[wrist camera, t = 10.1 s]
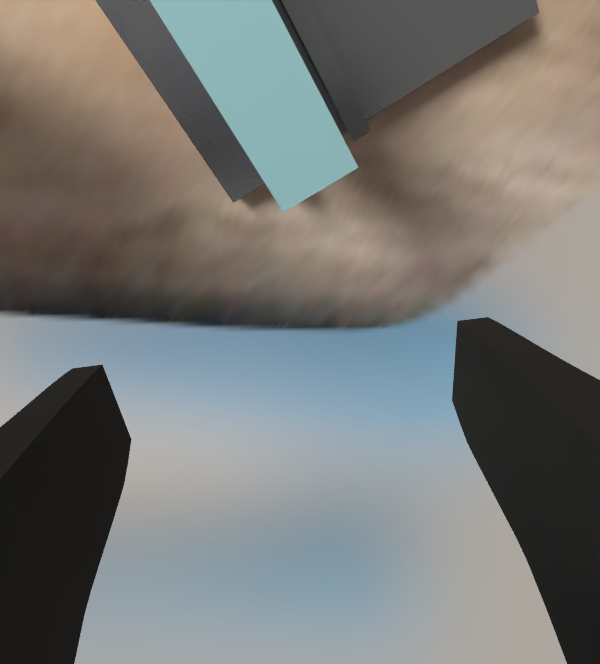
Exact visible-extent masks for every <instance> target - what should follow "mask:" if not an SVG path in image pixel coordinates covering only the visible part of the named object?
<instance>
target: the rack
mask: <svg viewBox="0 0 600 664" xmlns="http://www.w3.org/2000/svg"><path fill="white" fill-rule="evenodd" d="M96 2H97V3H98V5H99V6H100V7H101V9H102V10H103V12H104V13H105V15H106V16H107V18H108V19H109V21H110V22H111V24H112V25H113V27H114V28H115V29H116V31H117V32H118V34H119V35H120V37H121V38H122V40H123V41H124V43H125V44H126V46H127V47H128V49H129V50H130V51H131V53H132V54H133V56H134V57H135V59H136V60H137V62H138V63H139V65H140V66H141V68H142V69H143V71H144V72H145V74H146V75H147V76H148V78H149V79H150V81H151V82H152V84H153V85H154V87H155V88H156V90H157V91H158V93H159V94H160V96H161V97H162V98H163V100H164V101H165V103H166V104H167V106H168V107H169V109H170V110H171V112H172V113H173V115H174V116H175V118H176V119H177V120H178V122H179V123H180V125H181V126H182V128H183V129H184V131H185V132H186V134H187V135H188V137H189V138H190V140H191V141H192V142H193V144H194V145H195V147H196V148H197V150H198V151H199V153H200V154H201V156H202V157H203V159H204V160H205V162H206V163H207V164H208V166H209V167H210V169H211V170H212V172H213V173H214V175H215V176H216V178H217V179H218V181H219V182H220V184H221V185H222V186H223V188H224V189H225V191H226V192H227V194H228V195H229V197H230V198H231V200H232V201H233V203H234V202H236V201H237V200H239V199H240V198H242V197H244V196H245V195H247V194H248V193H250V192H252V191H253V190H255V189H256V188H258V187H260V186H261V185H263V184H264V181H263V179H262V178H261V176H260V175H259V173H258V171H257V170H256V168H255V167H254V165H253V163H252V162H251V160H250V159H249V157H248V156H247V154H246V152H245V151H244V149H243V148H242V146H241V144H240V143H239V141H238V140H237V138H236V137H235V135H234V133H233V132H232V130H231V129H230V127H229V125H228V124H227V122H226V121H225V119H224V117H223V116H222V114H221V113H220V111H219V110H218V108H217V106H216V105H215V103H214V102H213V100H212V98H211V97H210V95H209V94H208V92H207V91H206V89H205V87H204V86H203V84H202V83H201V81H200V79H199V78H198V76H197V75H196V73H195V71H194V70H193V68H192V67H191V65H190V64H189V62H188V60H187V59H186V57H185V56H184V54H183V52H182V51H181V49H180V48H179V46H178V44H177V43H176V41H175V40H174V38H173V37H172V35H171V33H170V32H169V30H168V29H167V27H166V25H165V24H164V22H163V21H162V19H161V18H160V16H159V14H158V13H157V11H156V10H155V8H154V6H153V5H152V3H151V2H150V0H96ZM272 2H273V4H274V5H275V7H276V9H277V11H278V13H279V15H280V17H281V19H282V21H283V23H284V25H285V27H286V29H287V31H288V32H289V34H290V36H291V38H292V40H293V42H294V44H295V46H296V48H297V50H298V52H299V54H300V56H301V58H302V60H303V61H304V63H305V65H306V67H307V69H308V71H309V73H310V75H311V77H312V79H313V81H314V83H315V85H316V87H317V88H318V90H319V92H320V94H321V96H322V98H323V100H324V102H325V104H326V106H327V108H328V110H329V112H330V114H331V115H332V117H333V119H334V121H335V123H336V125H337V127H338V129H339V131H340V133H341V135H343V134H345V133H346V132H347V133H348V134H349V136H350V137H351V139H352V140H353V141H355V140H357V139H358V138H360V137H361V136H363V135H365V134H366V133H368V132H370V131H371V130H370V128H369V126H368V124H367V122H366V120H367V119H369V118H370V117H372V116H373V115H375V114H377V113H378V112H380V111H381V110H383V109H385V108H386V107H388V106H390V105H391V104H393V103H394V102H396V101H398V100H399V99H401V98H402V97H404V96H406V95H407V94H409V93H410V92H412V91H414V90H415V89H417V88H418V87H420V86H422V85H423V84H425V83H426V82H428V81H430V80H431V79H433V78H434V77H436V76H438V75H439V74H441V73H442V72H444V71H446V70H447V69H449V68H450V67H452V66H454V65H455V64H457V63H458V62H460V61H462V60H463V59H465V58H466V57H468V56H470V55H471V54H473V53H474V52H476V51H478V50H479V49H481V48H483V47H484V46H486V45H487V44H489V43H491V42H492V41H494V40H495V39H497V38H499V37H500V36H502V35H503V34H505V33H507V32H508V31H510V30H511V29H513V28H515V27H516V26H518V25H519V24H521V23H523V22H524V21H526V20H527V19H529V18H531V17H532V16H534V15H535V14H537V13H539V9H538V6H537V2H536V0H272Z"/></svg>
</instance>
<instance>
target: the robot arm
mask: <svg viewBox="0 0 600 664" xmlns="http://www.w3.org/2000/svg"><path fill="white" fill-rule="evenodd" d="M456 338H457V339H456V353H455V366H454V367H455V368H454V382H453V397H452V401H453V404H454V406H455V410H456V413H457V416H458V418H459V421H460V424H461V427H462V430H463V432H464V435H465V438H466V440H467V443H468V444H469V447H470V449H471V451H472V453H473V455H474V457H475V459H476V461H477V463H478V465H479V467H480V469H481V470H482V472H483V474H484V476H485V478H486V480H487V482H488V484H489V486H490V488H491V490H492V492H493V493H494V496H495V497H496V499H497V501H498V503H499V505H500V507H501V509H502V511H503V513H504V515H505V517H506V519H507V520H508V522H509V524H510V526H511V528H512V530H513V531H514V534H515V536H516V538H517V540H518V542H519V544H520V546H521V548H522V550H523V553H524V555H525V557H526V559H527V561H528V564H529V566H530V569H531V571H532V573H533V576H534V579H535V581H536V583H537V586H538V589H539V591H540V594H541V596H542V599H543V601H544V603H545V606H546V609H547V611H548V614H549V617H550V619H551V622H552V624H553V627H554V630H555V632H556V635H557V638H558V640H559V643H560V646H561V648H562V651H563V654H564V656H565V659H566V661H567V664H600V380H598V379H596V378H595V377H593V376H591V375H589V374H587V373H585V372H583V371H581V370H580V369H578V368H576V367H574V366H572V365H571V364H569V363H567V362H565V361H563V360H562V359H560V358H558V357H556V356H555V355H553V354H551V353H550V352H548V351H546V350H544V349H543V348H541V347H539V346H538V345H536V344H534V343H532V342H531V341H529V340H527V339H526V338H524V337H522V336H521V335H519V334H517V333H515V332H514V331H512V330H510V329H509V328H507V327H505V326H503V325H502V324H500V323H498V322H496V321H494V320H492V319H490V318H488V317H487V318H479V319H470V320H462V321H458V323H457V337H456ZM130 444H131V438H130V435H129V432H128V430H127V427H126V425H125V422H124V419H123V417H122V414H121V412H120V409H119V407H118V404H117V401H116V399H115V396H114V394H113V391H112V389H111V386H110V383H109V381H108V378H107V376H106V373H105V370H104V368H103V365H97V366H90V367H81V368H73V369H71V370H70V371H69V372H67V373H66V374H64V375H63V376H62V377H60V378H59V379H58V380H57V381H55V382H54V383H53V384H51V385H50V386H49V387H48V388H47V389H45V390H44V391H43V392H42V393H41V394H39V395H38V396H37V397H36V398H35V399H34V400H33V401H31V402H30V403H29V404H28V405H27V406H25V407H24V408H23V409H22V410H21V411H20V412H18V413H17V414H16V415H15V416H14V417H12V418H11V419H10V420H9V421H8V422H6V423H5V424H4V425H3V426H1V427H0V664H74V662H75V657H76V652H77V647H78V642H79V638H80V633H81V628H82V623H83V619H84V614H85V610H86V607H87V602H88V599H89V596H90V592H91V588H92V585H93V582H94V579H95V576H96V573H97V569H98V566H99V563H100V560H101V557H102V554H103V550H104V547H105V544H106V541H107V538H108V535H109V532H110V528H111V525H112V522H113V519H114V516H115V512H116V509H117V506H118V503H119V499H120V496H121V492H122V489H123V485H124V481H125V476H126V470H127V465H128V458H129V451H130Z"/></svg>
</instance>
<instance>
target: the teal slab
mask: <svg viewBox="0 0 600 664" xmlns="http://www.w3.org/2000/svg"><path fill="white" fill-rule="evenodd" d="M150 2H151V3H152V5H153V6H154V8H155V10H156V11H157V13H158V14H159V16H160V18H161V19H162V21H163V22H164V24H165V25H166V27H167V29H168V30H169V32H170V33H171V35H172V37H173V38H174V40H175V41H176V43H177V44H178V46H179V48H180V49H181V51H182V52H183V54H184V56H185V57H186V59H187V60H188V62H189V64H190V65H191V67H192V68H193V70H194V71H195V73H196V75H197V76H198V78H199V79H200V81H201V83H202V84H203V86H204V87H205V89H206V91H207V92H208V94H209V95H210V97H211V98H212V100H213V102H214V103H215V105H216V106H217V108H218V110H219V111H220V113H221V114H222V116H223V117H224V119H225V121H226V122H227V124H228V125H229V127H230V129H231V130H232V132H233V133H234V135H235V137H236V138H237V140H238V141H239V143H240V144H241V146H242V148H243V149H244V151H245V152H246V154H247V156H248V157H249V159H250V160H251V162H252V163H253V165H254V167H255V168H256V170H257V171H258V173H259V175H260V176H261V178H262V179H263V181H264V183H265V184H266V186H267V187H268V189H269V190H270V192H271V194H272V195H273V197H274V198H275V200H276V202H277V203H278V205H279V206H280V208H281V210H282V211H283V212H285V211H287V210H288V209H290V208H292V207H293V206H295V205H297V204H298V203H300V202H302V201H303V200H305V199H307V198H308V197H310V196H312V195H313V194H315V193H317V192H318V191H320V190H322V189H323V188H325V187H327V186H328V185H330V184H332V183H333V182H335V181H337V180H338V179H340V178H342V177H343V176H345V175H347V174H348V173H350V172H352V171H353V170H355V169H357V168H358V166H357V164H356V162H355V160H354V158H353V156H352V154H351V152H350V150H349V148H348V146H347V144H346V142H345V141H344V139H343V137H342V135H341V133H340V131H339V129H338V127H337V125H336V123H335V121H334V119H333V117H332V115H331V114H330V112H329V110H328V108H327V106H326V104H325V102H324V100H323V98H322V96H321V94H320V92H319V90H318V88H317V87H316V85H315V83H314V81H313V79H312V77H311V75H310V73H309V71H308V69H307V67H306V65H305V63H304V61H303V60H302V58H301V56H300V54H299V52H298V50H297V48H296V46H295V44H294V42H293V40H292V38H291V36H290V34H289V32H288V31H287V29H286V27H285V25H284V23H283V21H282V19H281V17H280V15H279V13H278V11H277V9H276V7H275V5H274V4H273V2H272V0H150Z"/></svg>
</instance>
